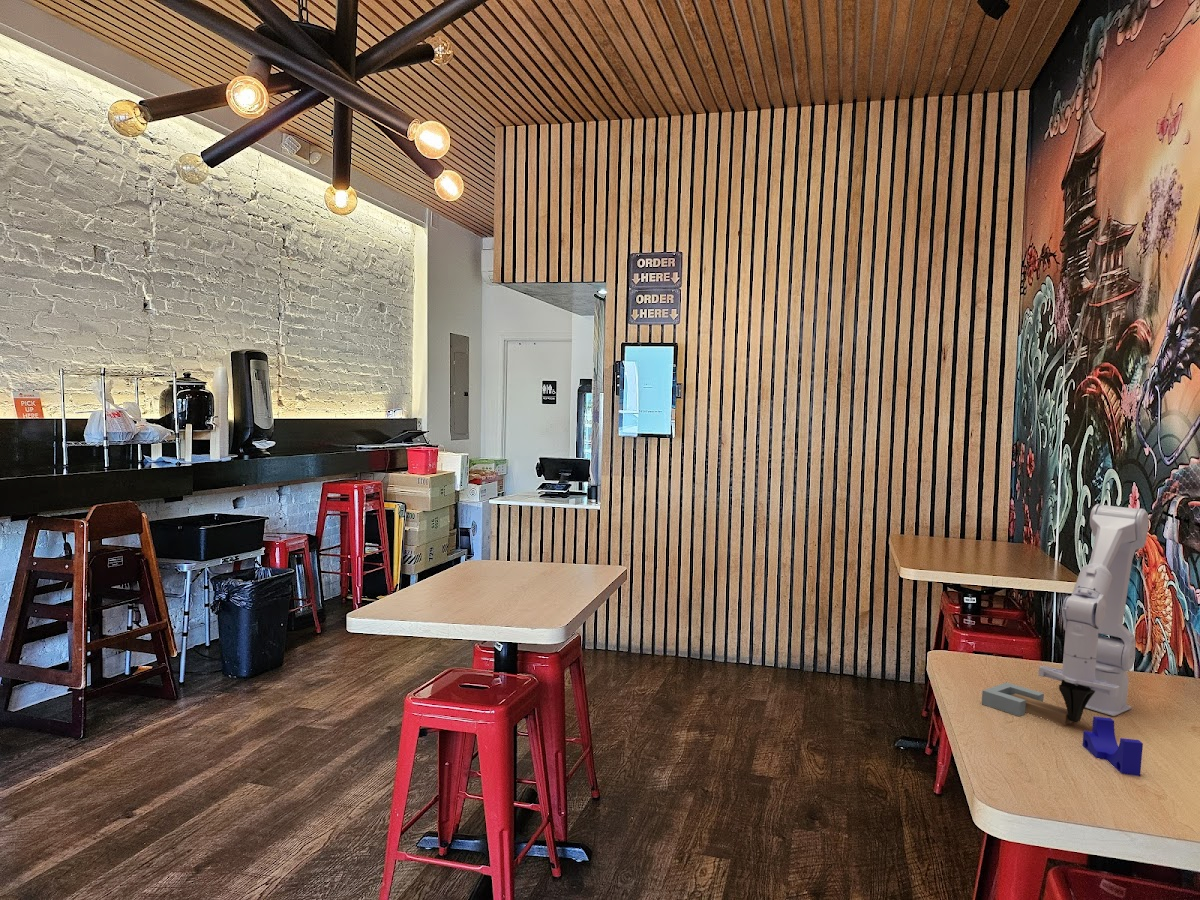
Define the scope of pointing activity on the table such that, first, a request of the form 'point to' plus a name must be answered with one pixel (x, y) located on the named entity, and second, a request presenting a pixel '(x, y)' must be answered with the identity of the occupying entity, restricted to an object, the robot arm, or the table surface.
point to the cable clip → (1113, 747)
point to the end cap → (1009, 698)
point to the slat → (1045, 710)
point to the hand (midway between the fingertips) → (1074, 720)
